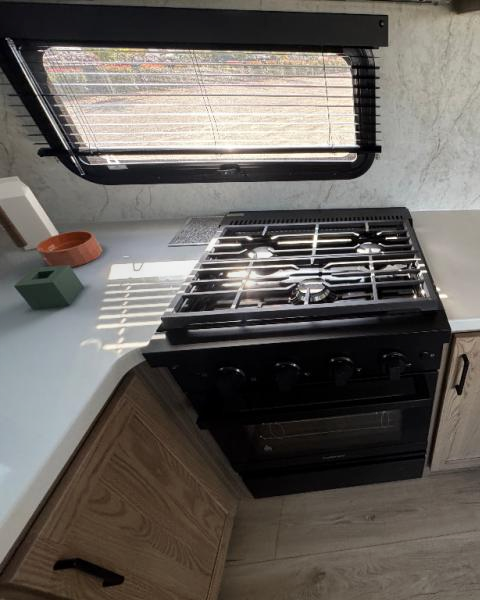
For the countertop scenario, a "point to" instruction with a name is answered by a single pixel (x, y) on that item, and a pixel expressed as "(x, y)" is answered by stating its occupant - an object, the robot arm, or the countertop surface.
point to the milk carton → (25, 212)
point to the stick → (11, 230)
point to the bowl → (70, 248)
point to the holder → (49, 287)
